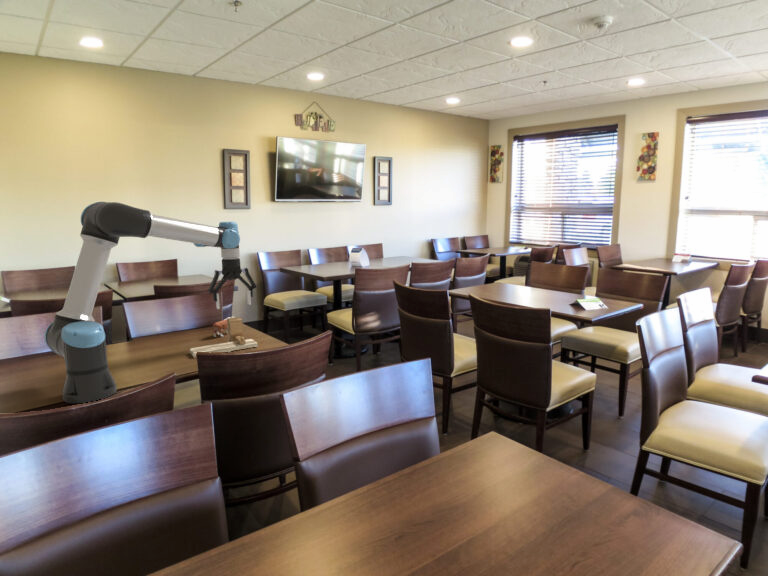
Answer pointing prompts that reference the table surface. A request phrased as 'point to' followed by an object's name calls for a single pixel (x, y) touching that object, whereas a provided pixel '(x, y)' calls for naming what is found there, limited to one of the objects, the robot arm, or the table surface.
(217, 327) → the bull figurine
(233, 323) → the tan boxy piece
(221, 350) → the board
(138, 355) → the table surface
